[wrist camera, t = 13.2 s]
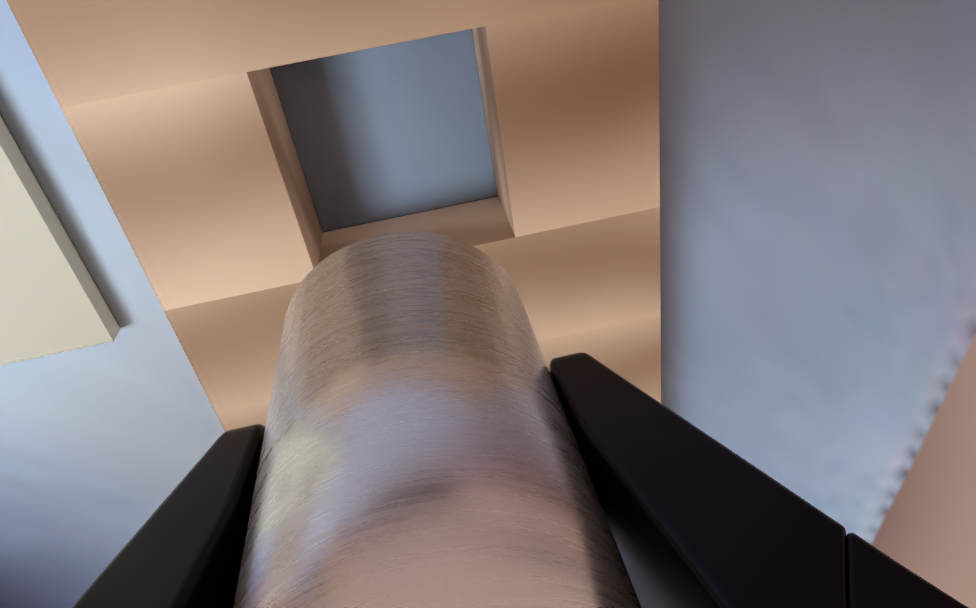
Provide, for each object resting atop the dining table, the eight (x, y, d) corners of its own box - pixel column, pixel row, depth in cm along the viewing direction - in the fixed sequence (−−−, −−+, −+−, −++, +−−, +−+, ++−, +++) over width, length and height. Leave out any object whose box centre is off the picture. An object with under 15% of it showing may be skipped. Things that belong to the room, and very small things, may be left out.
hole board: (635, 444, 24) (661, 497, 22) (307, 519, 23) (301, 581, 21) (614, -156, 14) (657, -162, 12) (44, -53, 13) (-15, -42, 11)
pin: (538, 403, 10) (803, 1173, 4) (323, 451, 10) (262, 1336, 4) (510, 207, 8) (913, 1066, 2) (246, 261, 8) (-96, 1367, 2)
